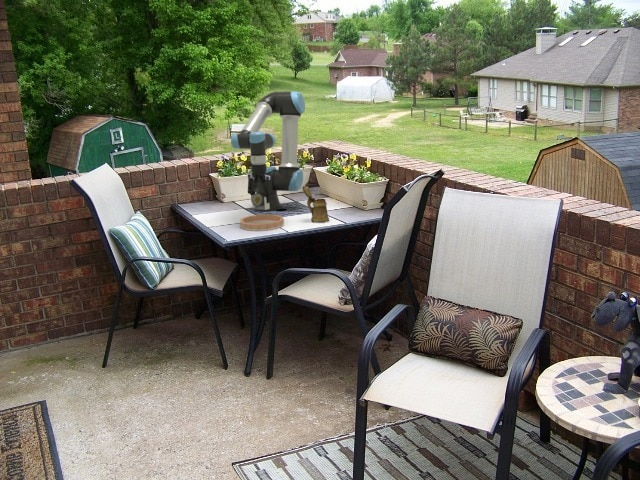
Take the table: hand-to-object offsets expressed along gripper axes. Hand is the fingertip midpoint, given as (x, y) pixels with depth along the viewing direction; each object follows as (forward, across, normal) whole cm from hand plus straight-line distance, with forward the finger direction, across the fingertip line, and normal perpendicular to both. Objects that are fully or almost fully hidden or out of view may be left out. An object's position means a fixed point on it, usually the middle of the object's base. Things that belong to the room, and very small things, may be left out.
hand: (261, 208), depth 354 cm
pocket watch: (0, -1, 0) cm, 1 cm away
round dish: (+9, 0, 0) cm, 9 cm away
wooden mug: (+9, +18, +22) cm, 30 cm away
